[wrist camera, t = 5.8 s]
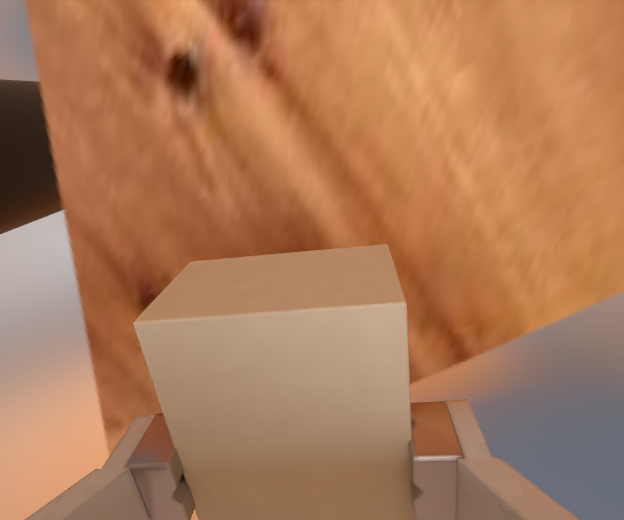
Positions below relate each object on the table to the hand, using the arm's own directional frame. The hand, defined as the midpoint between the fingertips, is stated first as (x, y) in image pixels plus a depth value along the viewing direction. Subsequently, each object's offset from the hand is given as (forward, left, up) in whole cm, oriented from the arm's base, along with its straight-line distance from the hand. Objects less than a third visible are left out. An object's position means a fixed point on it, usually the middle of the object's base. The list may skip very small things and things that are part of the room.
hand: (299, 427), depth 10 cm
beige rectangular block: (0, 0, -2) cm, 2 cm away
